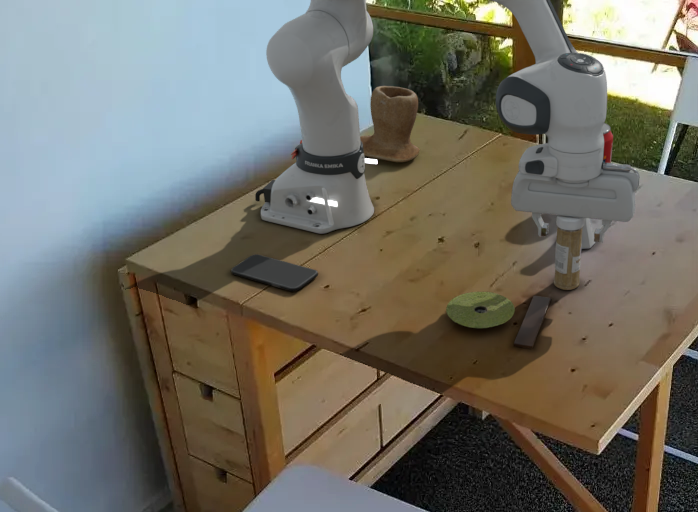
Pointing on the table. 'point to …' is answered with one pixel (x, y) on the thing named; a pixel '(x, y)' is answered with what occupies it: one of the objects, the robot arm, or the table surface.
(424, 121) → the table surface
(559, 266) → the sprinkles bottle
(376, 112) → the stone cup
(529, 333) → the walnut strip
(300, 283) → the smartphone
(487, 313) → the green flat disc
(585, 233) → the flask
